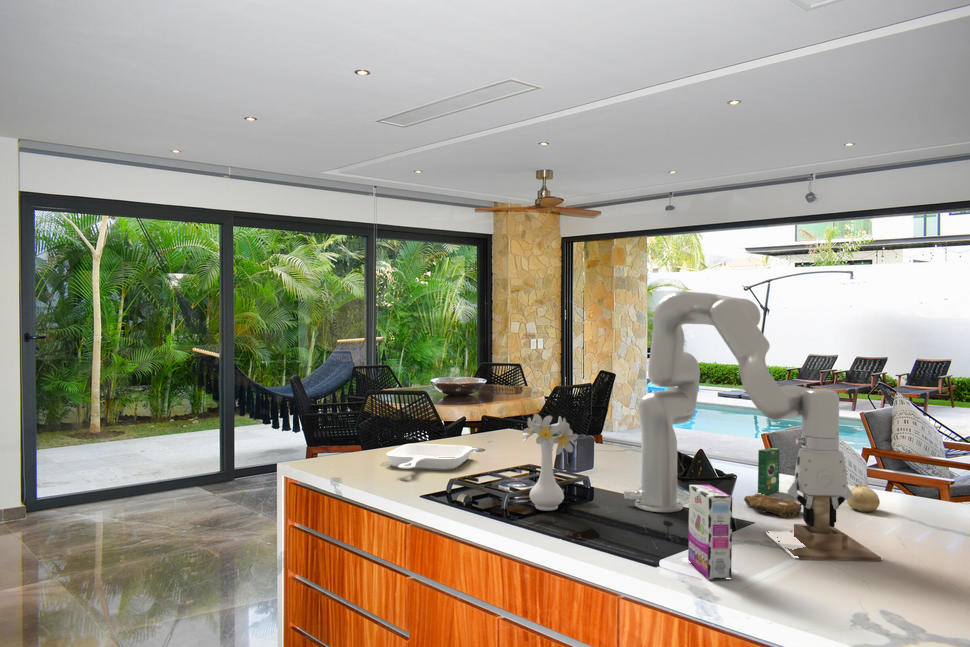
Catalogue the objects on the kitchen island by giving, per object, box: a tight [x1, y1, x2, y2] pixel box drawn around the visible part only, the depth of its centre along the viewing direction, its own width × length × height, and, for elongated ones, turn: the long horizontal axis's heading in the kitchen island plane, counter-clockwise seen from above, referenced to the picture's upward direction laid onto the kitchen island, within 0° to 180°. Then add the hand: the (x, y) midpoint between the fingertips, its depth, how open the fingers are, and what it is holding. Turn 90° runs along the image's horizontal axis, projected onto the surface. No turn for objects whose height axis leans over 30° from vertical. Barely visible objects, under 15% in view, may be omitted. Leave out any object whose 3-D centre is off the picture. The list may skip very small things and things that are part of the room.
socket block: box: [766, 523, 882, 562], centre depth 158 cm, size 18×18×4 cm
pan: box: [385, 443, 473, 471], centre depth 244 cm, size 27×42×5 cm, turn 167°
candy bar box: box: [687, 484, 733, 581], centre depth 142 cm, size 11×5×16 cm, turn 5°
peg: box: [810, 496, 830, 534], centre depth 158 cm, size 4×4×12 cm
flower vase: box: [521, 413, 579, 512], centre depth 190 cm, size 13×18×25 cm
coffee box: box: [757, 447, 780, 496], centre depth 210 cm, size 8×3×13 cm, turn 129°
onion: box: [846, 482, 881, 513], centre depth 190 cm, size 8×8×7 cm
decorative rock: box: [743, 493, 803, 518], centre depth 189 cm, size 11×4×15 cm
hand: (819, 524), depth 158 cm, fingers closed on peg, 3 cm apart
